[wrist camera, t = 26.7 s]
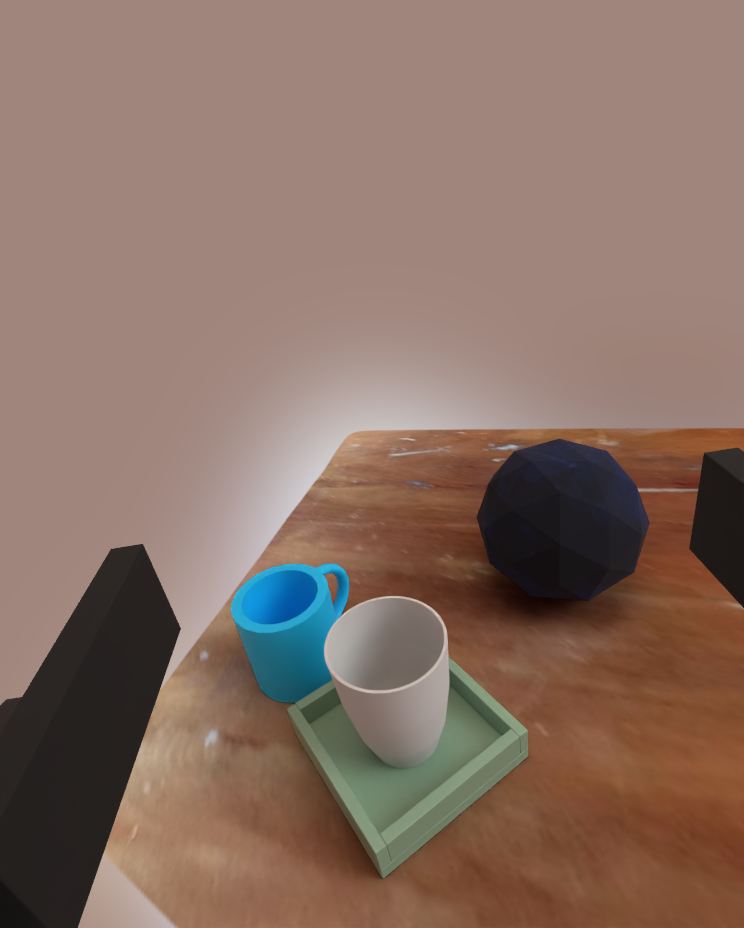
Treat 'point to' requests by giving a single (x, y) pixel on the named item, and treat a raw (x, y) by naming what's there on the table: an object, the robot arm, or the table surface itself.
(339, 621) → the cup
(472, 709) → the tray
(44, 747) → the robot arm
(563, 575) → the decorative orb
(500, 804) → the table surface
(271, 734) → the table surface
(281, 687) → the mug
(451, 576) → the table surface
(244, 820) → the table surface
